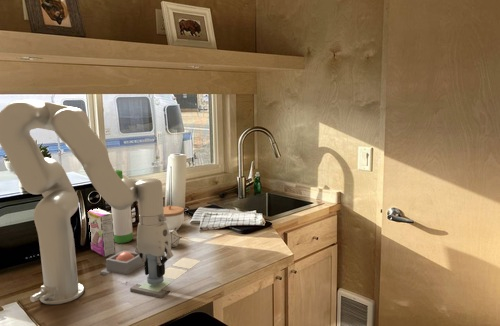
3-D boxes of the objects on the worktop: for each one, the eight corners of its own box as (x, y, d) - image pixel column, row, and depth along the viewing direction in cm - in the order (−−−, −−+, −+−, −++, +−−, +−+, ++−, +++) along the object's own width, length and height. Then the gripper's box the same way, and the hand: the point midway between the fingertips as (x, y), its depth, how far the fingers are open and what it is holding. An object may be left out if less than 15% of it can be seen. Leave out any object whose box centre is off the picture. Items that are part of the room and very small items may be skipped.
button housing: (128, 279, 138) (126, 265, 137) (100, 274, 143) (99, 260, 142) (150, 266, 149) (149, 252, 148) (124, 261, 153) (123, 248, 153)
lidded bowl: (190, 228, 189) (189, 204, 188) (168, 235, 180) (167, 211, 178) (172, 222, 197) (171, 200, 196) (151, 229, 188) (149, 206, 186)
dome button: (126, 272, 142) (125, 256, 141) (113, 269, 144) (111, 254, 143) (138, 265, 147) (137, 250, 146) (124, 262, 149) (123, 248, 148)
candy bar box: (90, 250, 165) (86, 210, 162) (101, 246, 168) (98, 207, 166) (104, 257, 157) (100, 215, 154) (116, 253, 161) (112, 212, 158)
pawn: (157, 285, 128) (155, 251, 126) (144, 282, 130) (141, 248, 129) (166, 279, 133) (164, 245, 131) (153, 276, 135) (151, 243, 133)
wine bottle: (114, 245, 170) (108, 173, 165) (113, 239, 177) (107, 169, 172) (134, 242, 173) (129, 171, 168) (132, 236, 180) (127, 168, 175)
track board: (161, 298, 125) (161, 294, 125) (130, 291, 130) (130, 287, 130) (208, 263, 150) (208, 260, 150) (180, 258, 155) (180, 255, 155)
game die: (174, 258, 164) (175, 244, 157) (155, 250, 165) (155, 236, 158) (184, 241, 171) (186, 227, 163) (165, 233, 172) (166, 219, 165)
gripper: (181, 218, 128) (184, 274, 131) (137, 212, 135) (141, 265, 138) (166, 225, 121) (170, 284, 125) (122, 219, 128) (126, 275, 131)
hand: (155, 273), depth 131 cm, fingers closed on pawn, 4 cm apart
